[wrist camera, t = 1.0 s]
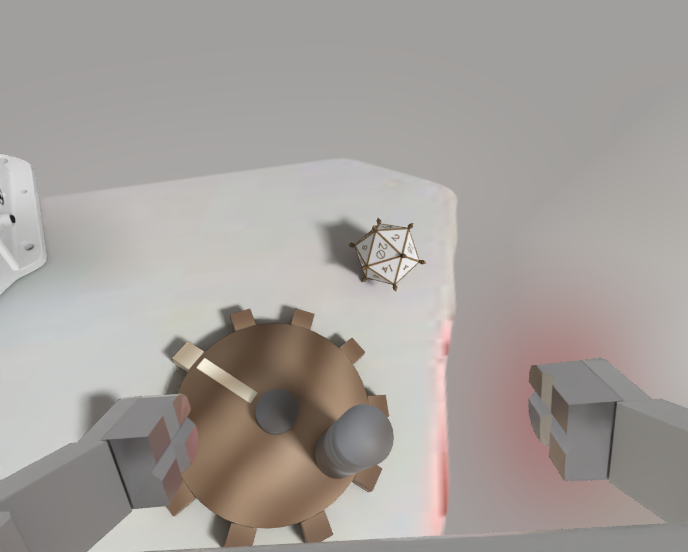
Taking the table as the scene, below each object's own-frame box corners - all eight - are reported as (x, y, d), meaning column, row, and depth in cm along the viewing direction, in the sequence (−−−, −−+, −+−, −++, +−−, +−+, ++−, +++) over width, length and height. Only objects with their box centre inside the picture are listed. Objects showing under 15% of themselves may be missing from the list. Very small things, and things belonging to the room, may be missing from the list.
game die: (378, 295, 55) (413, 308, 46) (328, 263, 52) (355, 270, 43) (410, 240, 56) (452, 242, 47) (363, 205, 53) (397, 201, 44)
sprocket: (91, 457, 35) (37, 432, 25) (248, 279, 47) (251, 218, 38) (312, 613, 33) (345, 651, 23) (416, 385, 45) (464, 348, 36)
